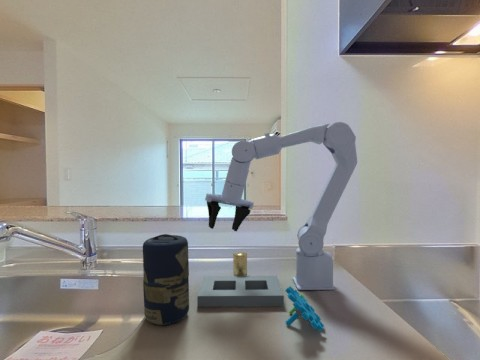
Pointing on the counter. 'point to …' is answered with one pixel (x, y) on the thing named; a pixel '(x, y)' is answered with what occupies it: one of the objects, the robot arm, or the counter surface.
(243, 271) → the bushing
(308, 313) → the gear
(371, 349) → the counter surface
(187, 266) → the canister
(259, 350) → the counter surface
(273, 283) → the jig
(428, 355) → the counter surface
